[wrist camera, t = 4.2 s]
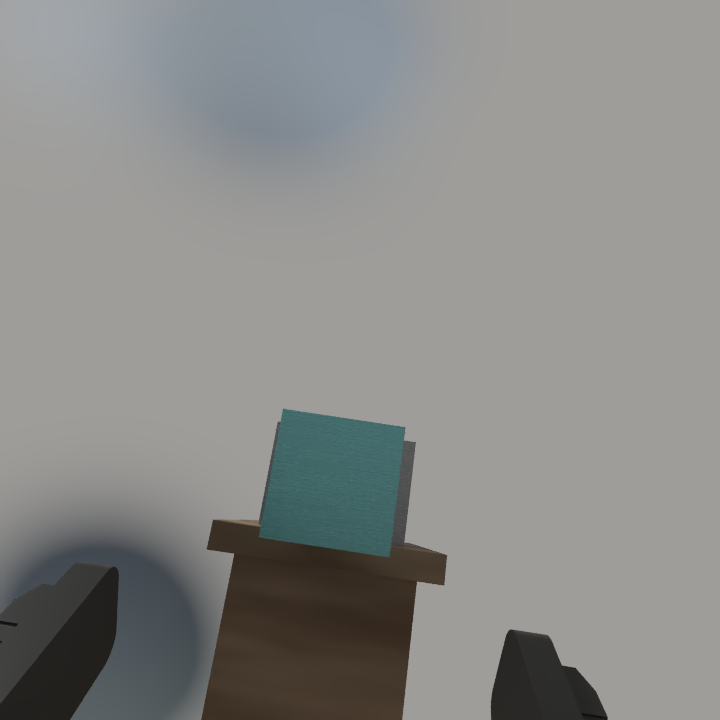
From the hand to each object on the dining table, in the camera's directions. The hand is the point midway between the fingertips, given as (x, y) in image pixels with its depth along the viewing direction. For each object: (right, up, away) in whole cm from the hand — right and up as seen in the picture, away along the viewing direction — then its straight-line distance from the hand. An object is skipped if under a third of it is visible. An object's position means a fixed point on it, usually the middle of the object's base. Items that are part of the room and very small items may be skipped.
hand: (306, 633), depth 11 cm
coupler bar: (0, -2, +13) cm, 13 cm away
